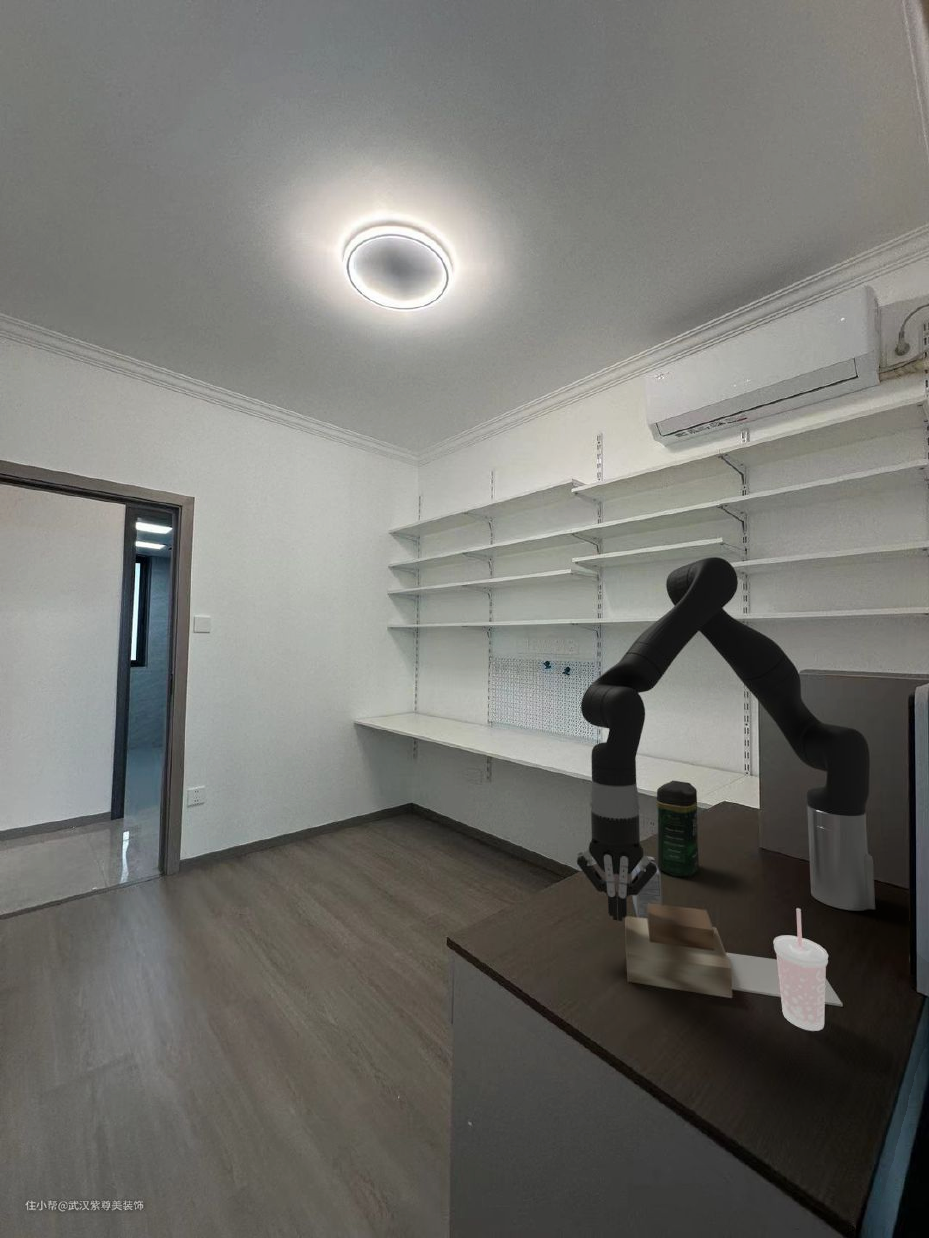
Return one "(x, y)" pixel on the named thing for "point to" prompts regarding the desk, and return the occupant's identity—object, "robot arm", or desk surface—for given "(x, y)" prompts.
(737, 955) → the mat
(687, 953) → the tan flat block
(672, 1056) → the desk surface
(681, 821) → the coffee jar
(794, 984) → the beverage cup
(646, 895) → the medicine box
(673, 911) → the walnut tile
